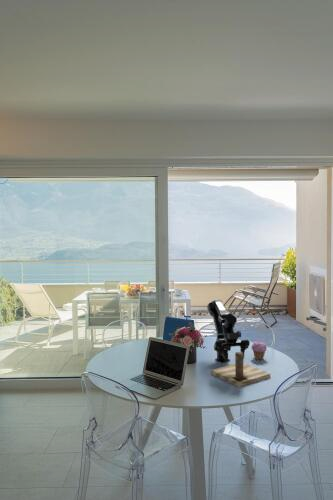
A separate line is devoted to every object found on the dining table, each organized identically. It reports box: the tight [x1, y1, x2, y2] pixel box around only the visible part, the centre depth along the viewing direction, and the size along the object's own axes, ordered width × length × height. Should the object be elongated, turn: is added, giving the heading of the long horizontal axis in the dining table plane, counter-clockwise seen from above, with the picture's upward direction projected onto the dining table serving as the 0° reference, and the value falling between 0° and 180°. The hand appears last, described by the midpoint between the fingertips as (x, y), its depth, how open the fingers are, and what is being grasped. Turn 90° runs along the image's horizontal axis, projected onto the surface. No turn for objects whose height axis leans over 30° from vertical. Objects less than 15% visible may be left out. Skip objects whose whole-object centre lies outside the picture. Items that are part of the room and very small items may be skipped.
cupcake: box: [251, 341, 267, 360], centre depth 242 cm, size 9×9×10 cm
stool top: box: [210, 362, 271, 388], centre depth 216 cm, size 22×22×2 cm
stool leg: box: [234, 351, 244, 382], centre depth 206 cm, size 4×4×15 cm
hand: (234, 359), depth 214 cm, fingers open, 9 cm apart
